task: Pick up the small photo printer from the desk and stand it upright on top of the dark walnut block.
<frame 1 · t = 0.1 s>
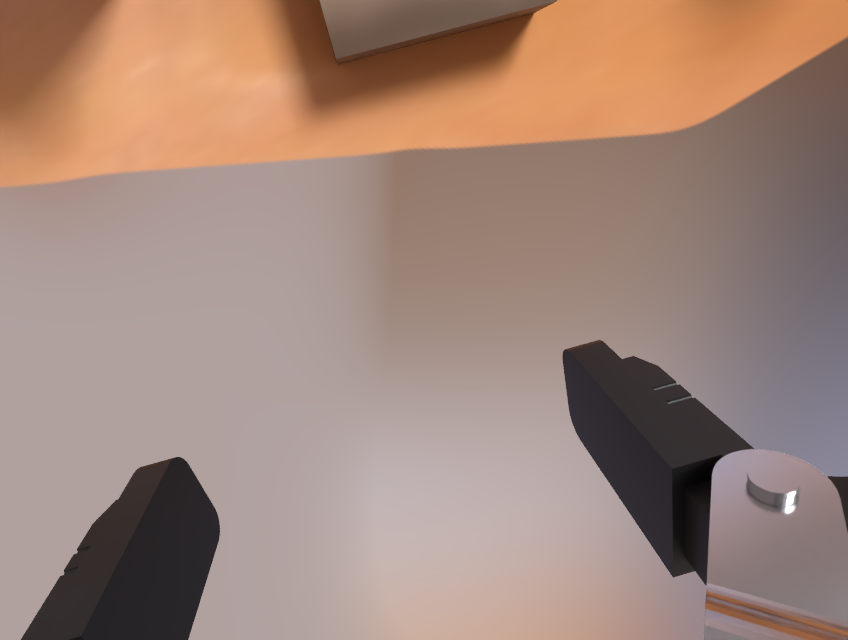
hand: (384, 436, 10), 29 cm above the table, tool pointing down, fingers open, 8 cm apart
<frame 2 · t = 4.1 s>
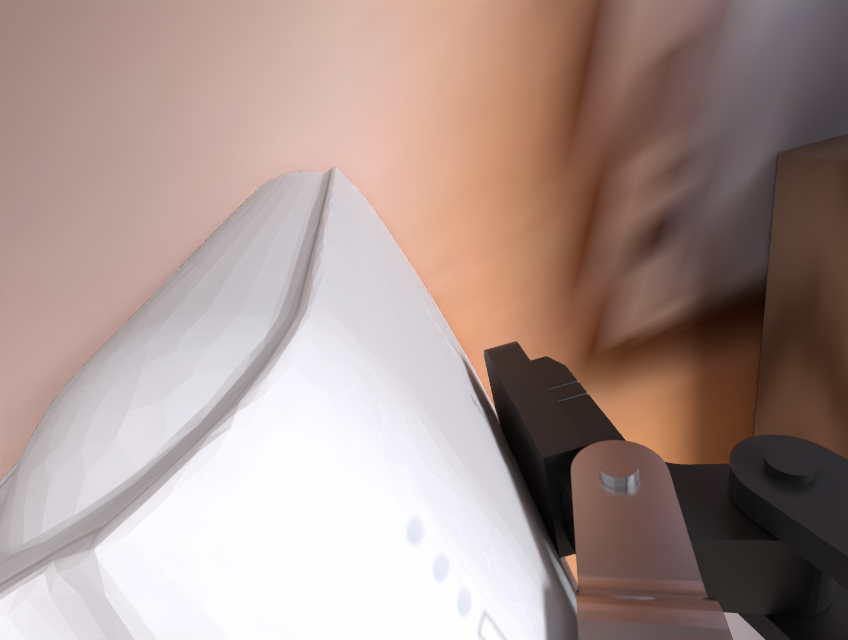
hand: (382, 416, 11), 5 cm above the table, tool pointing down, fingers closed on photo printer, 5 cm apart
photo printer: (373, 324, 15), on the table, touching gripper
when the fingers open (10 cm above the table, at t = 10.1 s): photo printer stays where it is, resting on walnut block.
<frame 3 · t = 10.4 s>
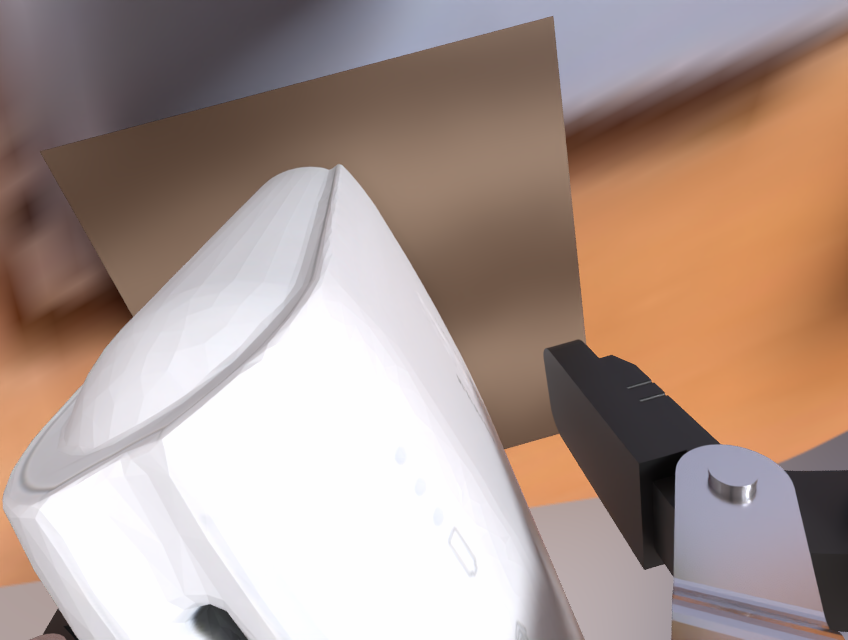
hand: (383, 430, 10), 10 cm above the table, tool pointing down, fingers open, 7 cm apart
walnut block: (369, 275, 19), on the table
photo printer: (370, 314, 16), point 4 cm above the table, touching walnut block
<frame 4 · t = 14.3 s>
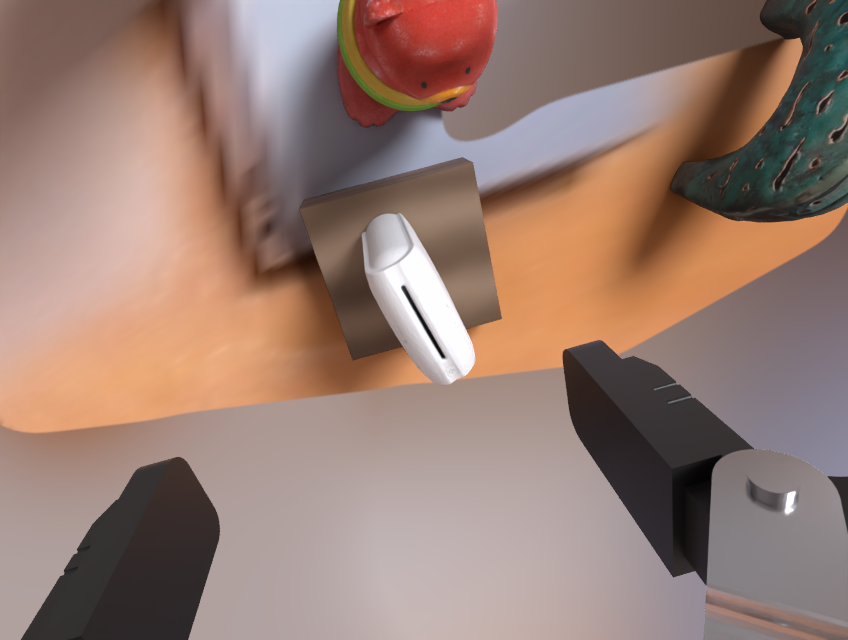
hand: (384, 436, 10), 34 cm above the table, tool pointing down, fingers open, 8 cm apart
stacking bear: (401, 49, 37), on the table
walnut block: (404, 254, 44), on the table
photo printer: (407, 268, 40), point 4 cm above the table, touching walnut block
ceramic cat: (736, 95, 42), on the table
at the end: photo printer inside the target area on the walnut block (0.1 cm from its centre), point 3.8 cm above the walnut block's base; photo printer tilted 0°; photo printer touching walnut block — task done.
